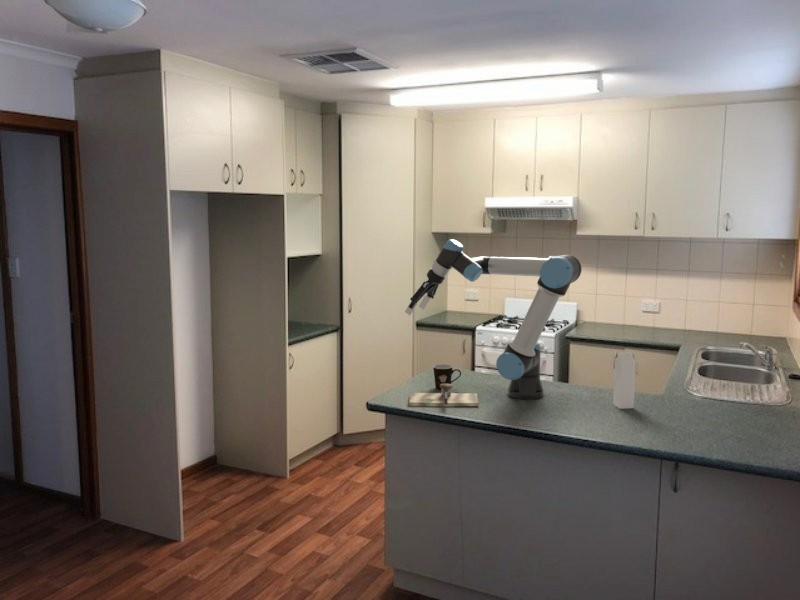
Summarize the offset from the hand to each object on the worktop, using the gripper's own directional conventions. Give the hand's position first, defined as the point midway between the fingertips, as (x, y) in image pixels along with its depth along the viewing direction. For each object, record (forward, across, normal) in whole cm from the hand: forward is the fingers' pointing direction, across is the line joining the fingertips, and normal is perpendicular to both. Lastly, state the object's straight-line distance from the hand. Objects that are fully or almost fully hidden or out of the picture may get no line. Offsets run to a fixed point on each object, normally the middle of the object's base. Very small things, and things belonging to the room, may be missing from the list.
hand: (414, 310), depth 287 cm
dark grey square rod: (+14, +17, +36) cm, 43 cm away
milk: (-20, -10, +92) cm, 95 cm away
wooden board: (+17, +15, +36) cm, 43 cm away
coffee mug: (+22, -2, +31) cm, 38 cm away
